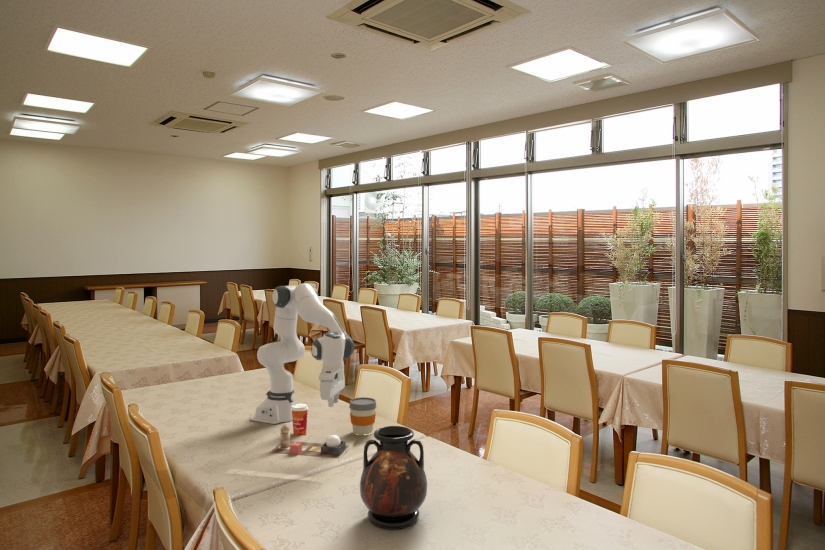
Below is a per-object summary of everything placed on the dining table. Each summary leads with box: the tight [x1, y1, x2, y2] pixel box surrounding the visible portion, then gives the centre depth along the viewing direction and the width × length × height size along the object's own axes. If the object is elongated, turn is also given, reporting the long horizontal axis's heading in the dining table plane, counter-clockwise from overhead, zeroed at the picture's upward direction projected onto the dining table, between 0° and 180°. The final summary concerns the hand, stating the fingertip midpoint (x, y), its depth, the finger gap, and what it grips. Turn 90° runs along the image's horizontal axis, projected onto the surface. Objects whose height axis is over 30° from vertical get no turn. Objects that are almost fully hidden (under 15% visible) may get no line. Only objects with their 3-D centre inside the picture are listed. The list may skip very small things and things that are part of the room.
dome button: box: [325, 434, 342, 448], centre depth 223 cm, size 6×6×6 cm
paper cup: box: [291, 403, 309, 436], centre depth 245 cm, size 8×8×14 cm
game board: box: [268, 440, 349, 463], centre depth 225 cm, size 30×14×4 cm, turn 79°
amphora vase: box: [359, 425, 428, 530], centre depth 170 cm, size 22×22×28 cm
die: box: [289, 441, 302, 456], centre depth 221 cm, size 4×4×4 cm
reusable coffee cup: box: [348, 396, 377, 435], centre depth 249 cm, size 13×13×15 cm
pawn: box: [279, 424, 291, 448], centre depth 227 cm, size 4×4×9 cm
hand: (333, 404), depth 222 cm, fingers open, 4 cm apart
